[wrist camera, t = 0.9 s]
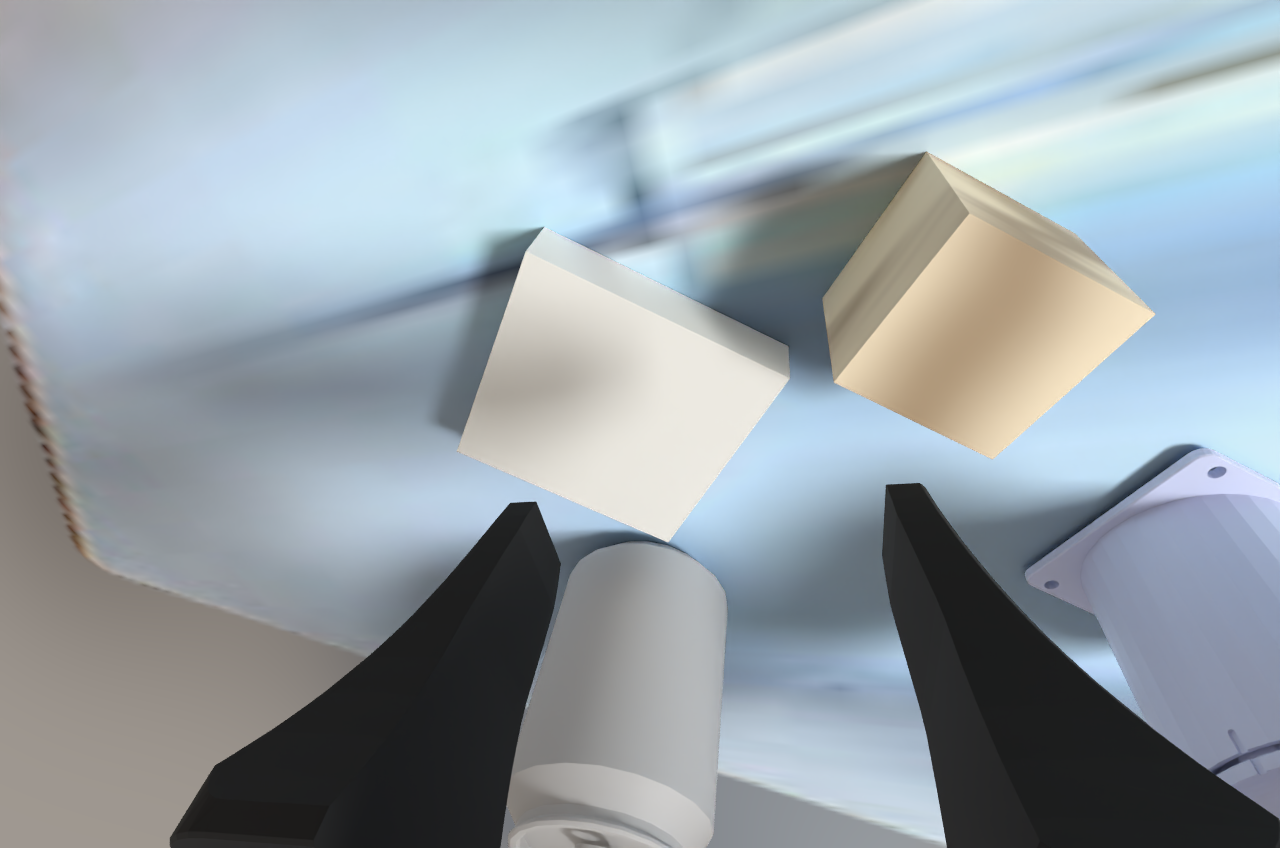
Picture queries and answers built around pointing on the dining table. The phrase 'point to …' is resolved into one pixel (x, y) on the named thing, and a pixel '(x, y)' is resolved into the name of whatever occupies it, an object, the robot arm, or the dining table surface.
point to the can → (625, 708)
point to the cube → (972, 310)
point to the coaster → (617, 388)
